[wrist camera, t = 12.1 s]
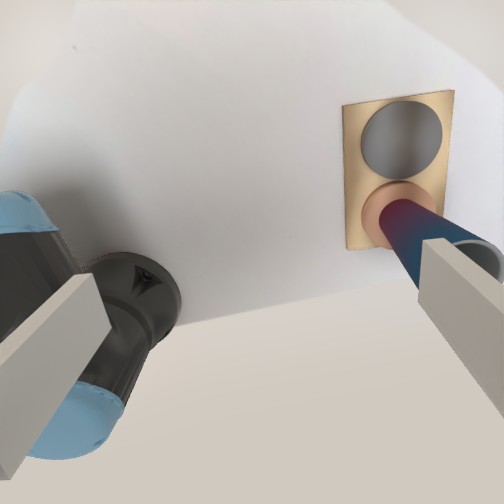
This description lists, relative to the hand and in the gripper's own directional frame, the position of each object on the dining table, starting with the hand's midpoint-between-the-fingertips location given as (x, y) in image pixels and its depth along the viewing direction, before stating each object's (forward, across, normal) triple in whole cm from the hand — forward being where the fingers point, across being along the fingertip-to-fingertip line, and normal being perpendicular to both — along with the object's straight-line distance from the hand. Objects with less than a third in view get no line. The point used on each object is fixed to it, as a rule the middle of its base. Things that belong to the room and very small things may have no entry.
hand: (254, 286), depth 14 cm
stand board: (+32, +16, -4) cm, 36 cm away
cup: (+29, +16, -9) cm, 34 cm away
